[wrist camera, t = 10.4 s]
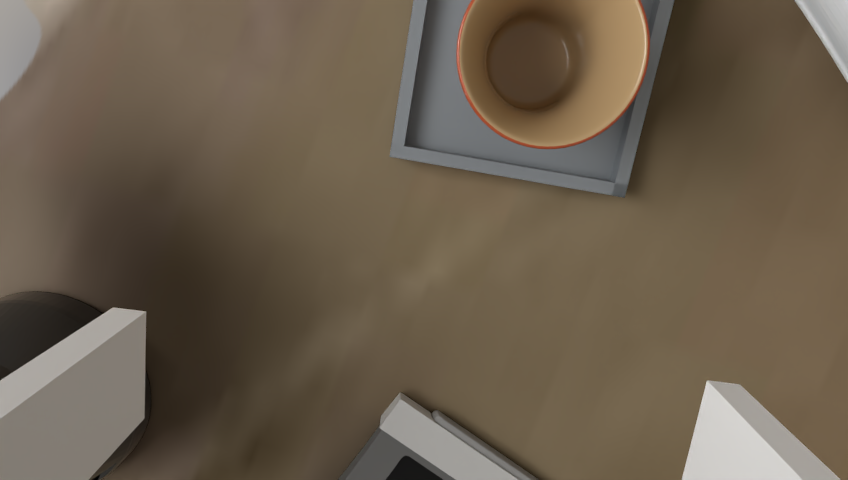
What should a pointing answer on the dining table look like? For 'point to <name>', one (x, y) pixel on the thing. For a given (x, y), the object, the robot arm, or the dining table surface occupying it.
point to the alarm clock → (427, 450)
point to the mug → (552, 66)
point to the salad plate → (830, 27)
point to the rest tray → (479, 145)
